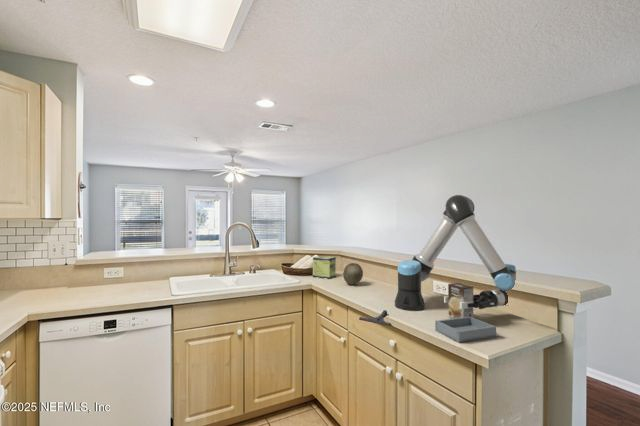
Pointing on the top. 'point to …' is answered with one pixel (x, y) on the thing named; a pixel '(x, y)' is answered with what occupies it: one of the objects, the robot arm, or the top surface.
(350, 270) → the dark brown ball
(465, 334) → the tray
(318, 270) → the protein box
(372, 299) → the top surface
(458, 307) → the coffee box
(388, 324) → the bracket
